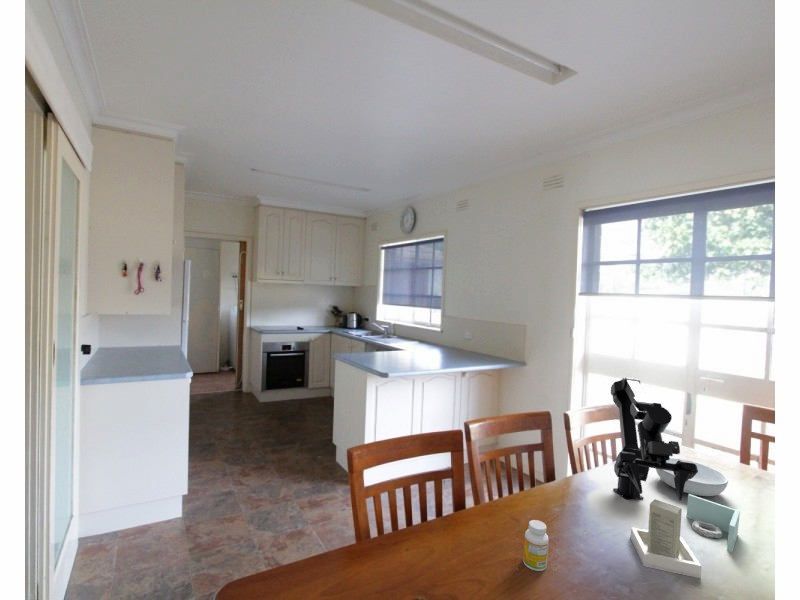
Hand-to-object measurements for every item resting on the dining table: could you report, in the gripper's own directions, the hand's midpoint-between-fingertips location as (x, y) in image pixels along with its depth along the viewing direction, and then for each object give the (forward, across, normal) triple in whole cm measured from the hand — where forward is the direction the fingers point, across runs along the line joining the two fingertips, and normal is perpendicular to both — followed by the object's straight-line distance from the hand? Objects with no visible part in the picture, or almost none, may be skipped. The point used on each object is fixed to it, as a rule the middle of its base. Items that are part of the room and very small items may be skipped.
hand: (660, 496), depth 110 cm
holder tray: (+13, 0, +6) cm, 14 cm away
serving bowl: (-20, +22, +39) cm, 49 cm away
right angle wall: (+1, +17, +18) cm, 25 cm away
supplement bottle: (+23, -32, -5) cm, 40 cm away
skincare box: (+12, 0, +5) cm, 13 cm away
